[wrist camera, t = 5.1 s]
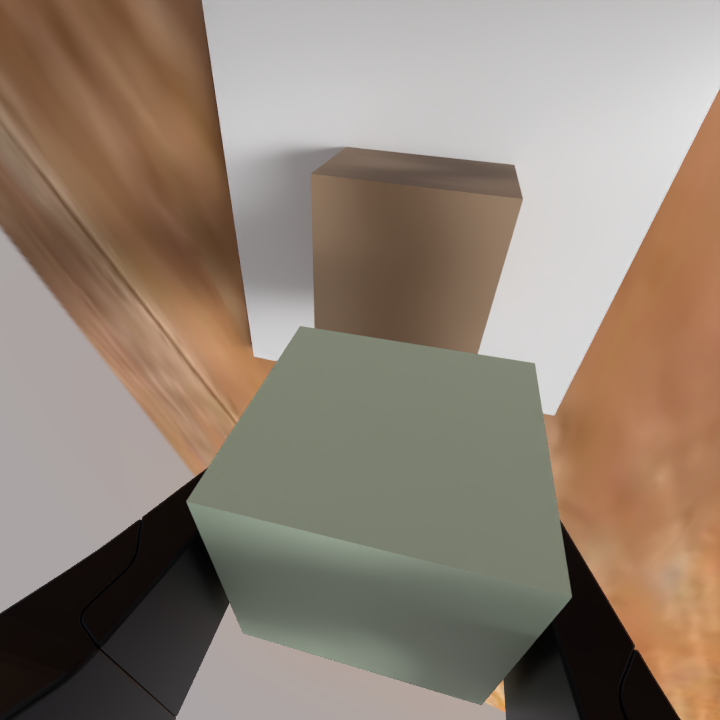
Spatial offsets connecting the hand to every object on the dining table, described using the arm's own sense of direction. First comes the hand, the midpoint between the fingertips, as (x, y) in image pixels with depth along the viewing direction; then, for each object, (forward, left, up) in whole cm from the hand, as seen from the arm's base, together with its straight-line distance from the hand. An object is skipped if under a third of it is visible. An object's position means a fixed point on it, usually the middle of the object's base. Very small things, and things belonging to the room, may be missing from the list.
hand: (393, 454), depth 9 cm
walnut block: (+1, -1, -10) cm, 10 cm away
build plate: (+1, -1, -11) cm, 11 cm away
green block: (0, 0, -1) cm, 1 cm away
